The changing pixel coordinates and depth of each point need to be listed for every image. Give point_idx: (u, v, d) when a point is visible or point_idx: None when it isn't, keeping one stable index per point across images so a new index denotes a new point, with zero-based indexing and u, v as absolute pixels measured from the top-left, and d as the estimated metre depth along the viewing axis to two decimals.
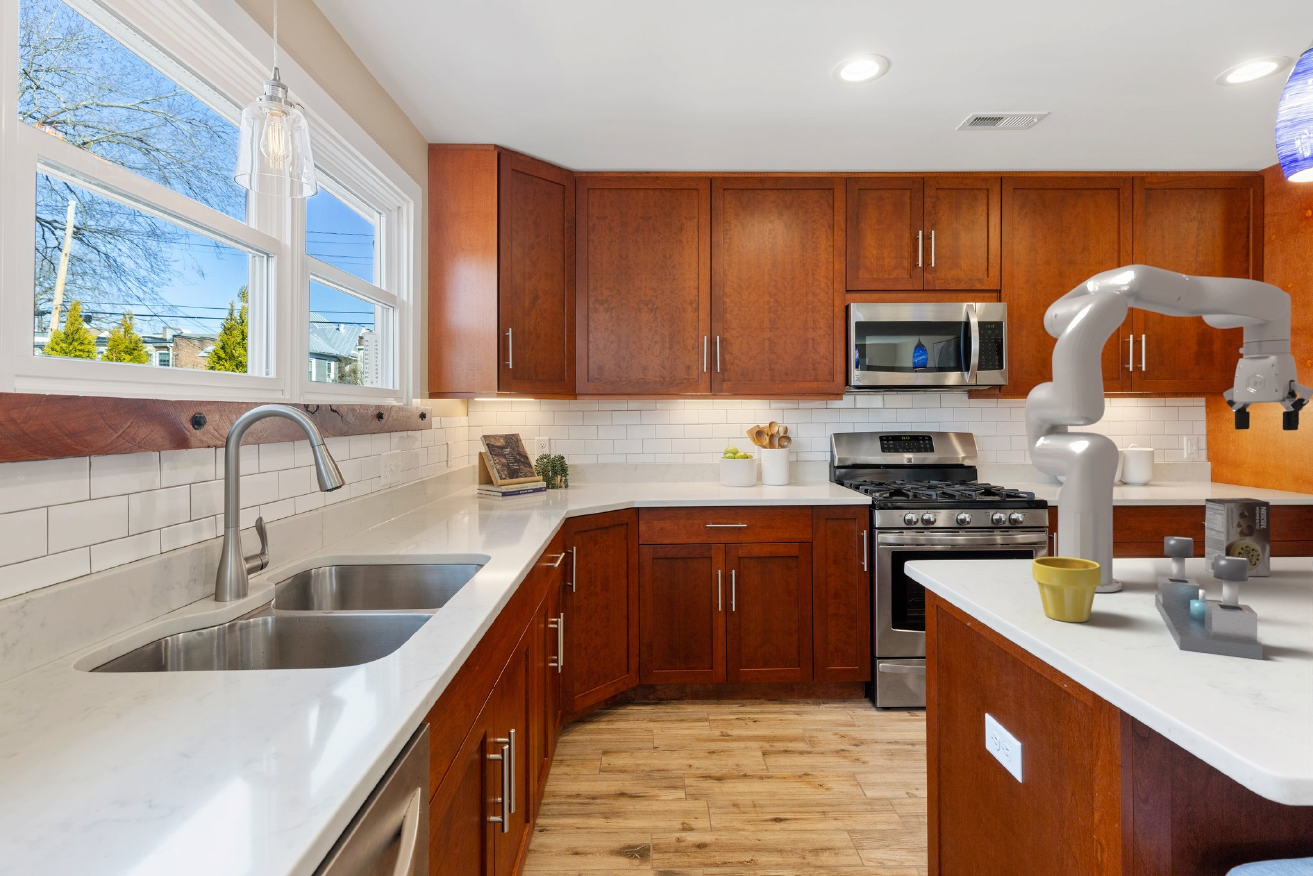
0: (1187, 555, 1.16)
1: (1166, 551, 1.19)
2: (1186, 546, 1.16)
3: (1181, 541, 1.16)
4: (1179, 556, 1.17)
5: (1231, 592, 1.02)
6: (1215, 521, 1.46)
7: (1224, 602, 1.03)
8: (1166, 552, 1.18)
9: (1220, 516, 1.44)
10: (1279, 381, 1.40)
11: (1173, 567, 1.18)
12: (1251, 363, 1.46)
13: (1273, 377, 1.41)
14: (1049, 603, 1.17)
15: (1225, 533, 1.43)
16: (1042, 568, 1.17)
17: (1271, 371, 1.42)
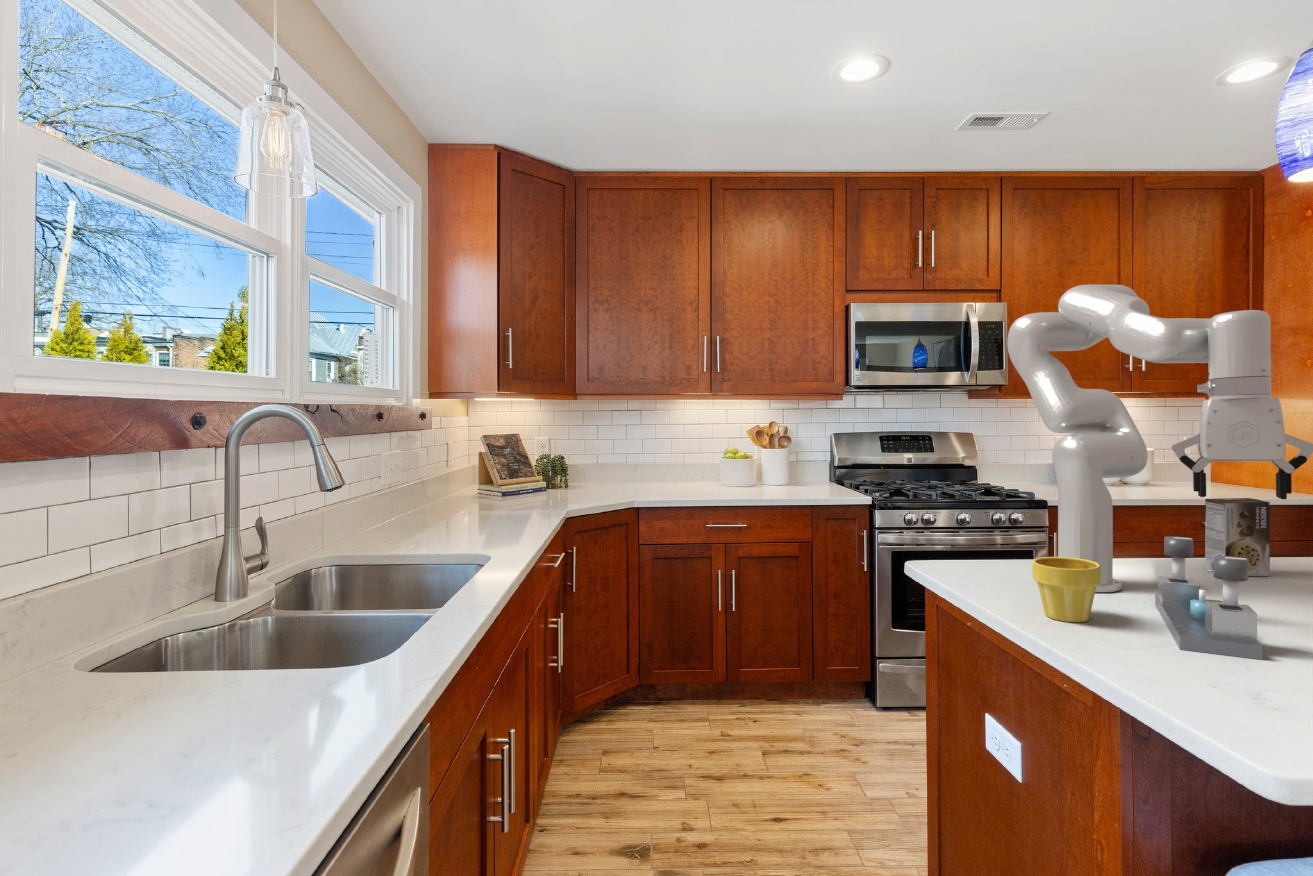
0: (1187, 555, 1.16)
1: (1166, 551, 1.19)
2: (1186, 546, 1.16)
3: (1181, 541, 1.16)
4: (1179, 556, 1.17)
5: (1231, 592, 1.02)
6: (1215, 521, 1.46)
7: (1224, 602, 1.03)
8: (1166, 552, 1.18)
9: (1220, 517, 1.44)
10: (1281, 432, 1.02)
11: (1173, 567, 1.18)
12: (1234, 407, 1.05)
13: (1272, 427, 1.03)
14: (1049, 603, 1.17)
15: (1225, 533, 1.43)
16: (1042, 568, 1.17)
17: (1269, 418, 1.03)
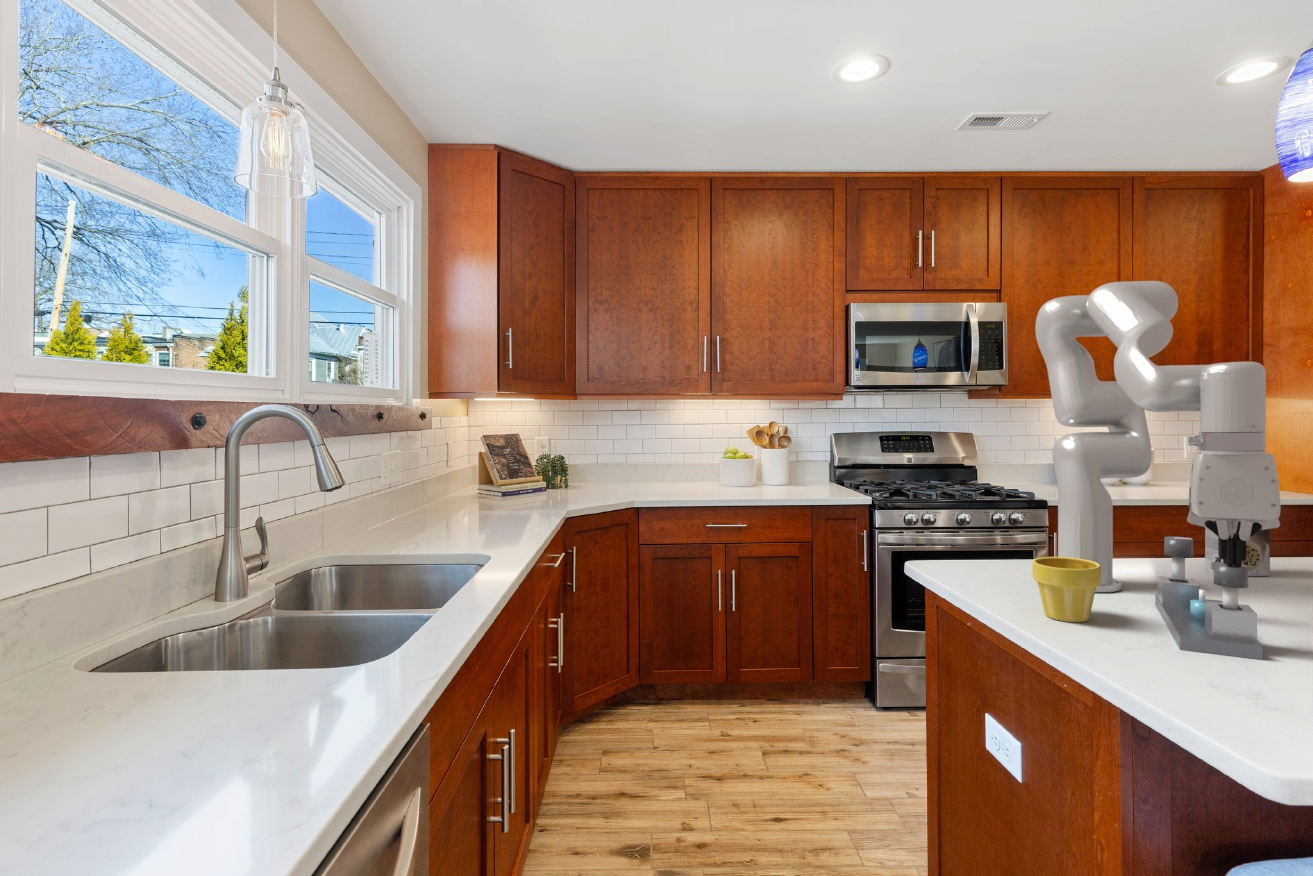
0: (1187, 555, 1.16)
1: (1166, 551, 1.19)
2: (1186, 546, 1.16)
3: (1181, 541, 1.16)
4: (1179, 556, 1.17)
5: (1231, 599, 1.02)
6: None
7: None
8: (1166, 552, 1.18)
9: None
10: (1276, 492, 0.97)
11: (1173, 567, 1.18)
12: (1228, 463, 1.00)
13: (1267, 485, 0.98)
14: (1049, 603, 1.17)
15: None
16: (1042, 568, 1.17)
17: (1263, 477, 0.98)
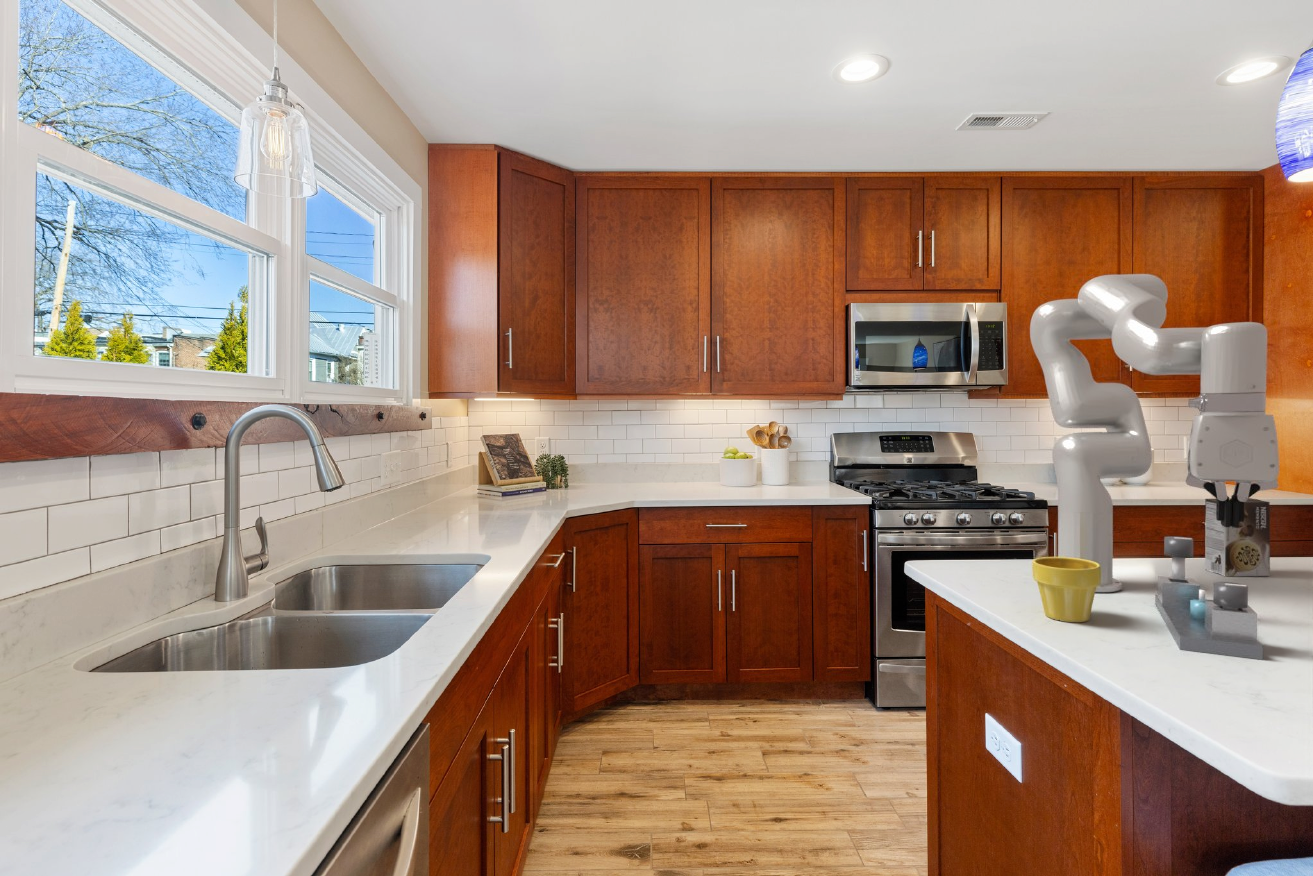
0: (1187, 555, 1.16)
1: (1166, 551, 1.19)
2: (1186, 546, 1.16)
3: (1181, 541, 1.16)
4: (1179, 556, 1.17)
5: None
6: (1215, 521, 1.46)
7: None
8: (1166, 552, 1.18)
9: None
10: (1275, 452, 0.97)
11: (1173, 567, 1.18)
12: (1227, 424, 1.00)
13: (1266, 446, 0.98)
14: (1049, 603, 1.17)
15: (1225, 533, 1.43)
16: (1042, 568, 1.17)
17: (1263, 437, 0.98)
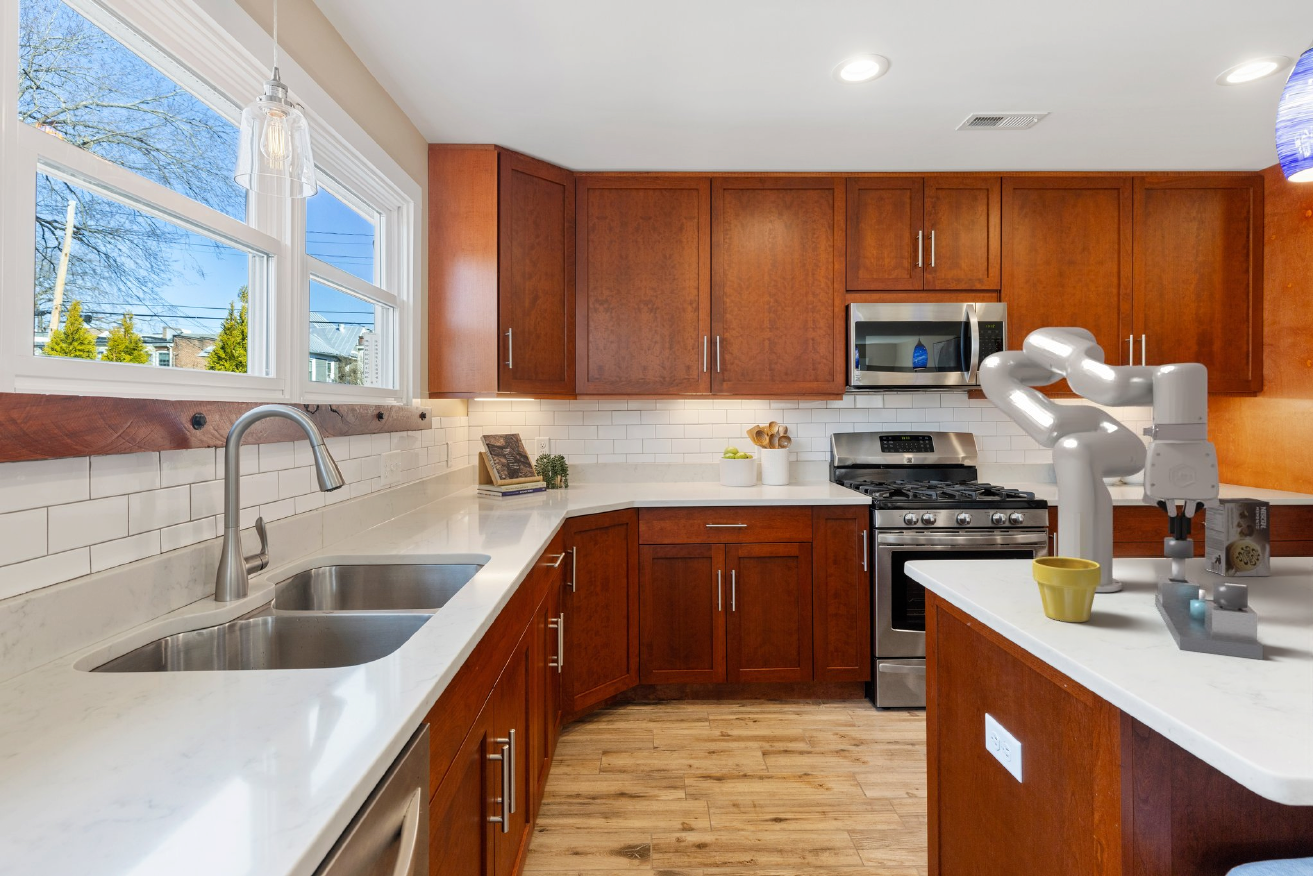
0: (1187, 556, 1.16)
1: (1166, 552, 1.19)
2: (1186, 547, 1.16)
3: (1181, 542, 1.16)
4: (1179, 557, 1.17)
5: None
6: (1215, 521, 1.46)
7: None
8: (1166, 553, 1.18)
9: (1220, 517, 1.44)
10: (1215, 475, 1.13)
11: (1173, 568, 1.18)
12: (1175, 451, 1.16)
13: (1208, 469, 1.14)
14: (1049, 603, 1.17)
15: (1225, 533, 1.43)
16: (1042, 568, 1.17)
17: (1205, 462, 1.14)
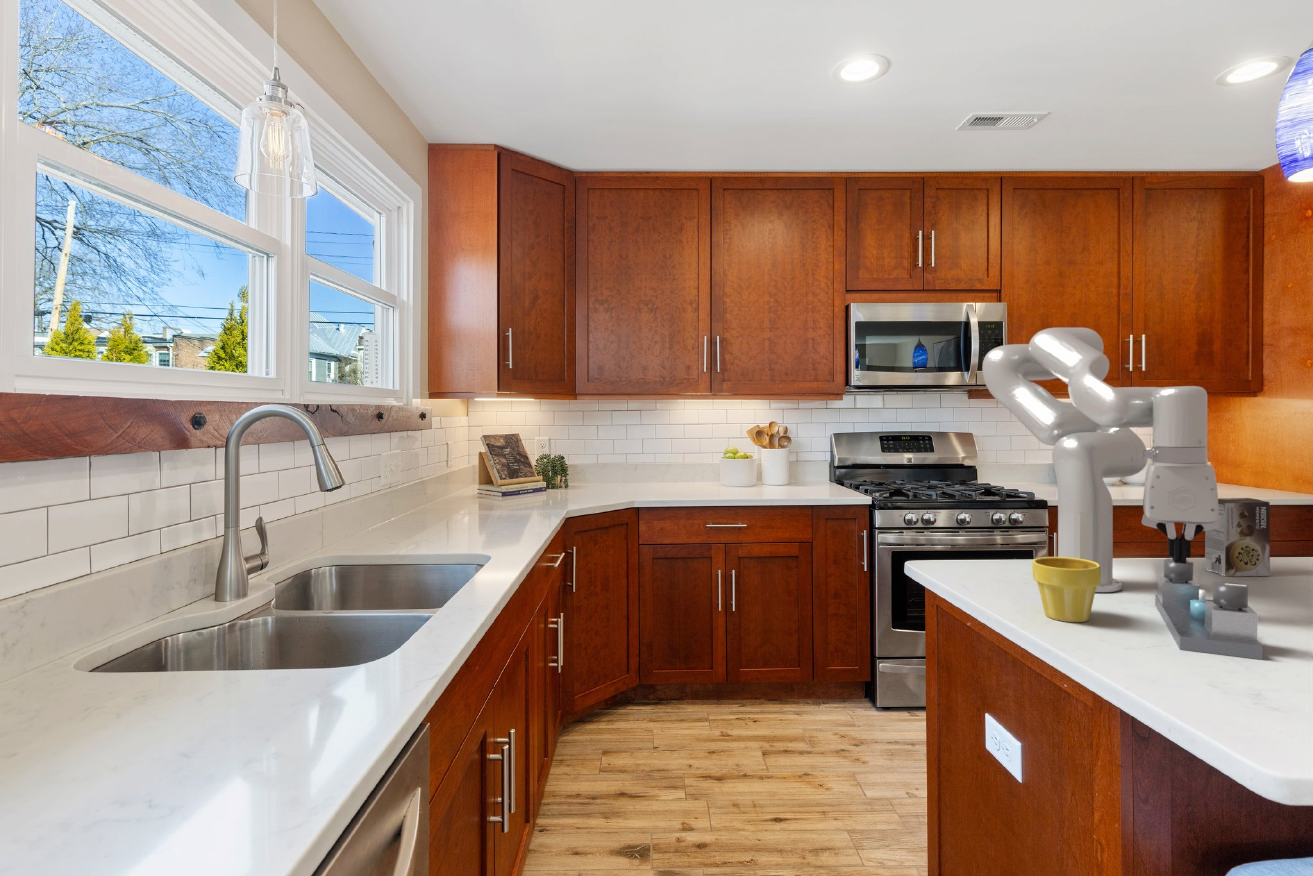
0: (1187, 578, 1.16)
1: (1166, 574, 1.19)
2: (1186, 569, 1.16)
3: (1181, 564, 1.17)
4: (1179, 579, 1.17)
5: None
6: None
7: None
8: (1166, 575, 1.19)
9: (1220, 517, 1.44)
10: (1215, 498, 1.13)
11: None
12: (1174, 474, 1.16)
13: (1207, 493, 1.14)
14: (1049, 603, 1.17)
15: (1225, 533, 1.43)
16: (1042, 568, 1.17)
17: (1204, 485, 1.14)
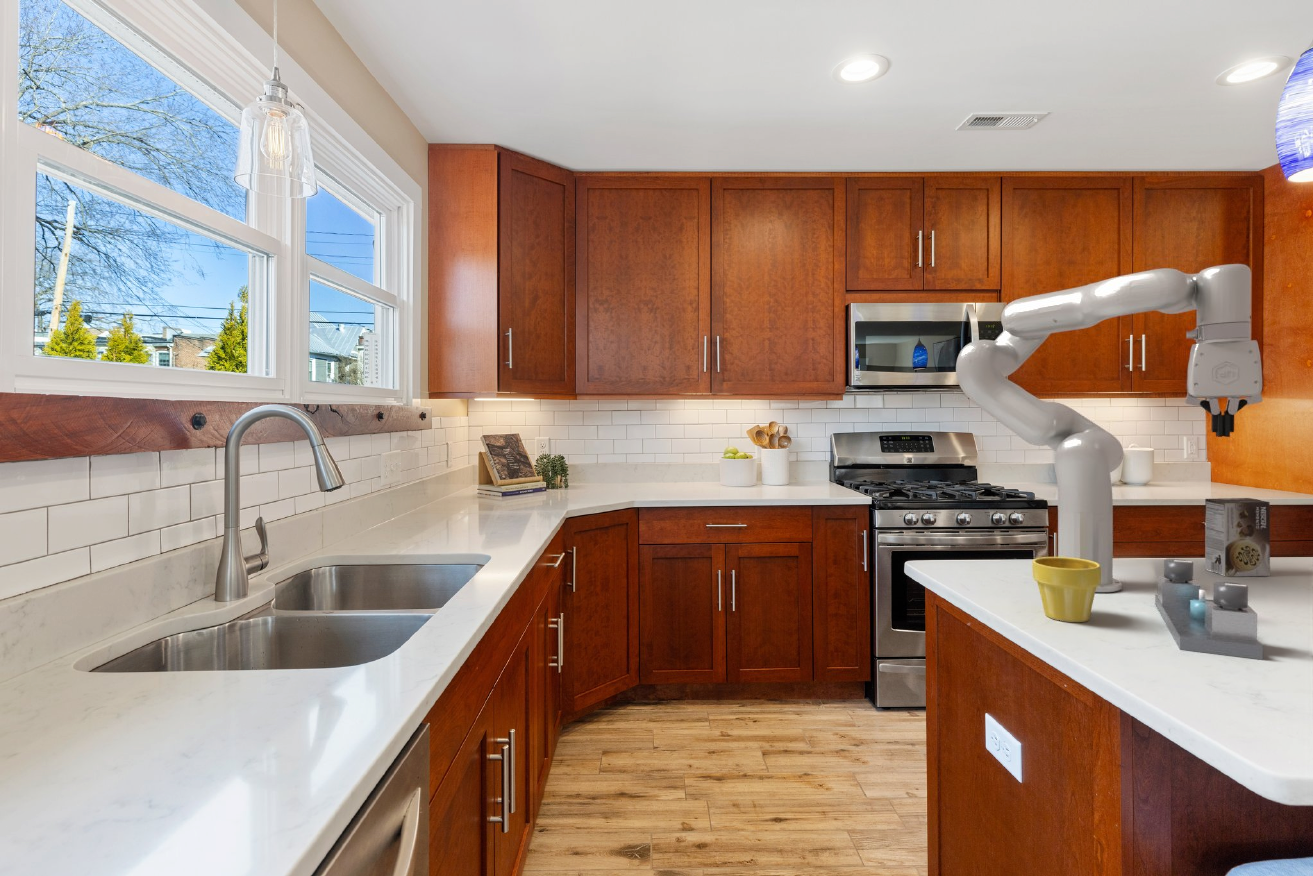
0: (1187, 578, 1.16)
1: (1166, 574, 1.19)
2: (1186, 569, 1.16)
3: (1181, 564, 1.17)
4: (1179, 579, 1.17)
5: None
6: (1215, 521, 1.46)
7: None
8: (1166, 575, 1.19)
9: (1220, 517, 1.44)
10: (1259, 371, 1.17)
11: None
12: (1218, 350, 1.20)
13: (1251, 366, 1.18)
14: (1049, 603, 1.17)
15: (1225, 533, 1.43)
16: (1042, 568, 1.17)
17: (1248, 359, 1.18)
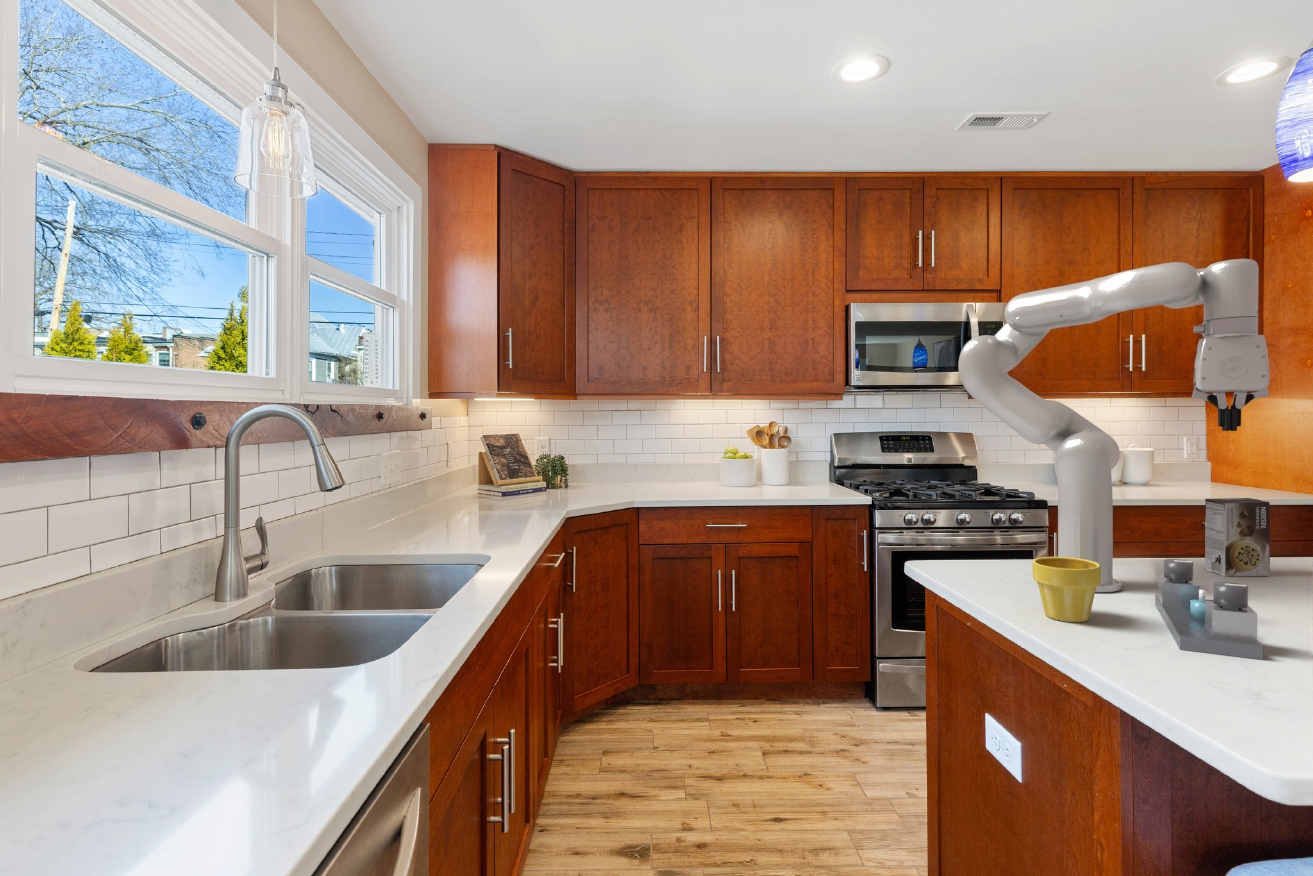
0: (1187, 578, 1.16)
1: (1166, 574, 1.19)
2: (1186, 569, 1.16)
3: (1181, 564, 1.17)
4: (1179, 579, 1.17)
5: None
6: (1215, 521, 1.46)
7: None
8: (1166, 575, 1.19)
9: (1220, 517, 1.44)
10: (1266, 365, 1.18)
11: None
12: (1226, 344, 1.20)
13: (1259, 360, 1.18)
14: (1049, 603, 1.17)
15: (1225, 533, 1.43)
16: (1042, 568, 1.17)
17: (1256, 353, 1.18)
